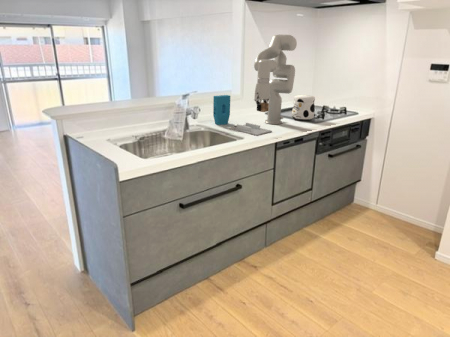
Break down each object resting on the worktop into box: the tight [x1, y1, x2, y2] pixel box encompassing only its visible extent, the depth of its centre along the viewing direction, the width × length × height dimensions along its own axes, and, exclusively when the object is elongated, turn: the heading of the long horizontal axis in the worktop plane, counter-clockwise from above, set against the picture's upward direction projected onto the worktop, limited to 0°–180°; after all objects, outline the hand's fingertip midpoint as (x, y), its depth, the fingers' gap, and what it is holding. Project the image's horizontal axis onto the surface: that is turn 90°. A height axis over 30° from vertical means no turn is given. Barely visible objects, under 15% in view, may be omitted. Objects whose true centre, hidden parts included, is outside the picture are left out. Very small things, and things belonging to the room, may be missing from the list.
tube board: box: [229, 122, 273, 137], centre depth 224 cm, size 16×24×3 cm, turn 45°
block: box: [212, 94, 231, 126], centre depth 239 cm, size 12×5×20 cm, turn 125°
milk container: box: [291, 94, 316, 122], centre depth 261 cm, size 17×17×18 cm
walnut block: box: [259, 101, 269, 113], centre depth 213 cm, size 5×5×5 cm
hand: (261, 109), depth 214 cm, fingers closed on walnut block, 4 cm apart
